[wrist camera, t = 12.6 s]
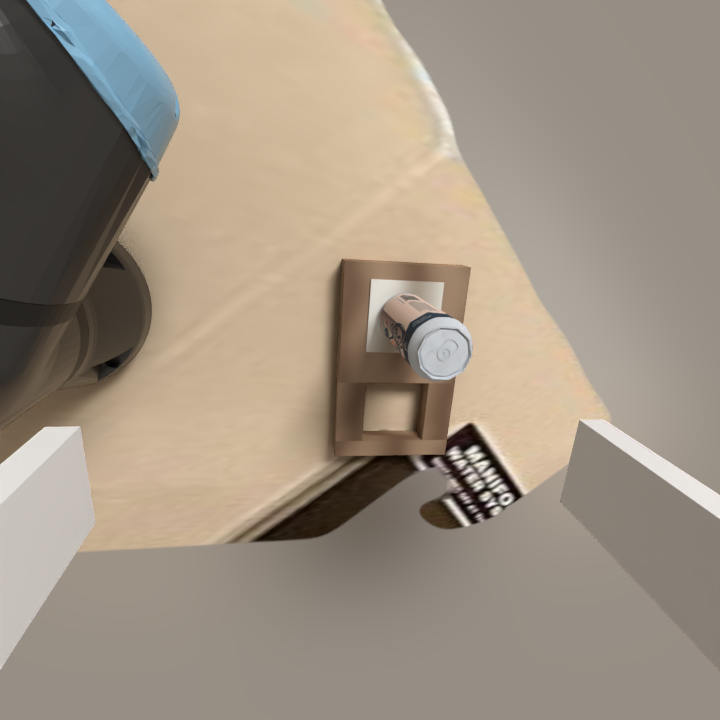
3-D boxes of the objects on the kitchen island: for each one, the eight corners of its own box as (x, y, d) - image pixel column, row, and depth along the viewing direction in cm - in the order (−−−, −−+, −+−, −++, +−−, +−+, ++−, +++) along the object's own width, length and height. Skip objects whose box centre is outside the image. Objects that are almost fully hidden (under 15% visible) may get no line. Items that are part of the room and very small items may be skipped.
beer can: (367, 319, 40) (397, 358, 29) (402, 281, 40) (446, 305, 28) (403, 351, 42) (444, 398, 31) (437, 314, 41) (491, 350, 30)
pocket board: (333, 445, 47) (335, 457, 45) (342, 258, 41) (345, 261, 38) (438, 444, 49) (445, 455, 46) (462, 265, 43) (471, 267, 40)
